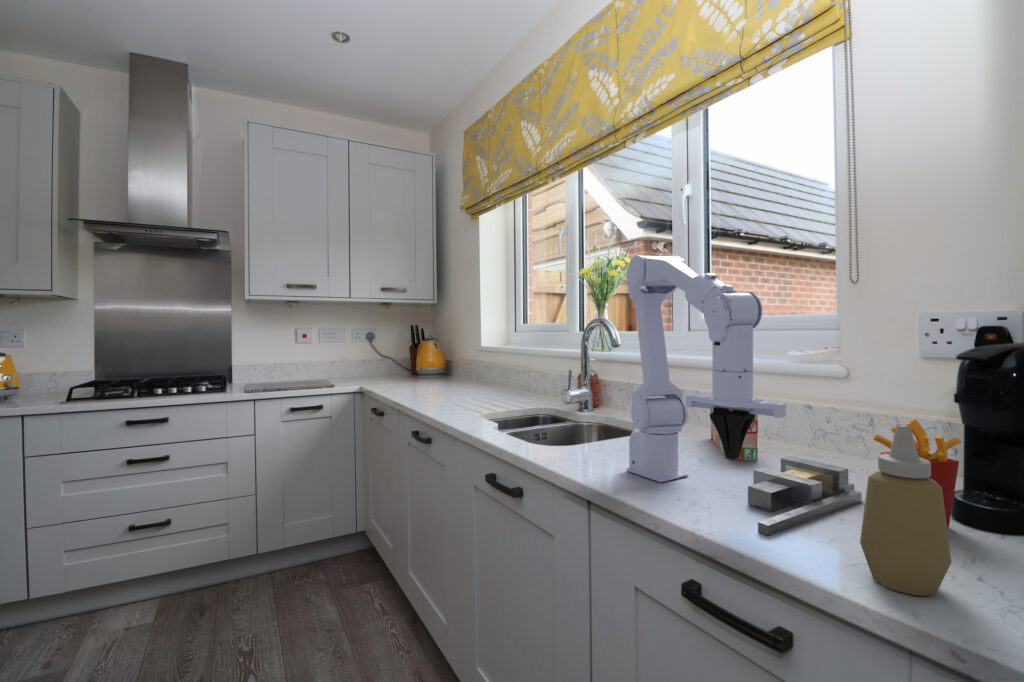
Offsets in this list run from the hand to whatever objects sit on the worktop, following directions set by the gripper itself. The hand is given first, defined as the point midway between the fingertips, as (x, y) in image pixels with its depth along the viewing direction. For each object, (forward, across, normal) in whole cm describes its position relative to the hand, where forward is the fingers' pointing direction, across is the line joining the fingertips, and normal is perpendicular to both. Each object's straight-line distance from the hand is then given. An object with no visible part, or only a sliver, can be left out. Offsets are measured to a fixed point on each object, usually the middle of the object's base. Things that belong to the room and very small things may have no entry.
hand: (732, 457), depth 75 cm
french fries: (+9, -19, -17) cm, 27 cm away
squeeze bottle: (+9, -22, +6) cm, 25 cm away
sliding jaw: (+9, -2, -11) cm, 14 cm away
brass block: (+9, -4, -18) cm, 21 cm away
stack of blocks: (+10, +18, -42) cm, 47 cm away
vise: (+9, -4, -11) cm, 15 cm away
